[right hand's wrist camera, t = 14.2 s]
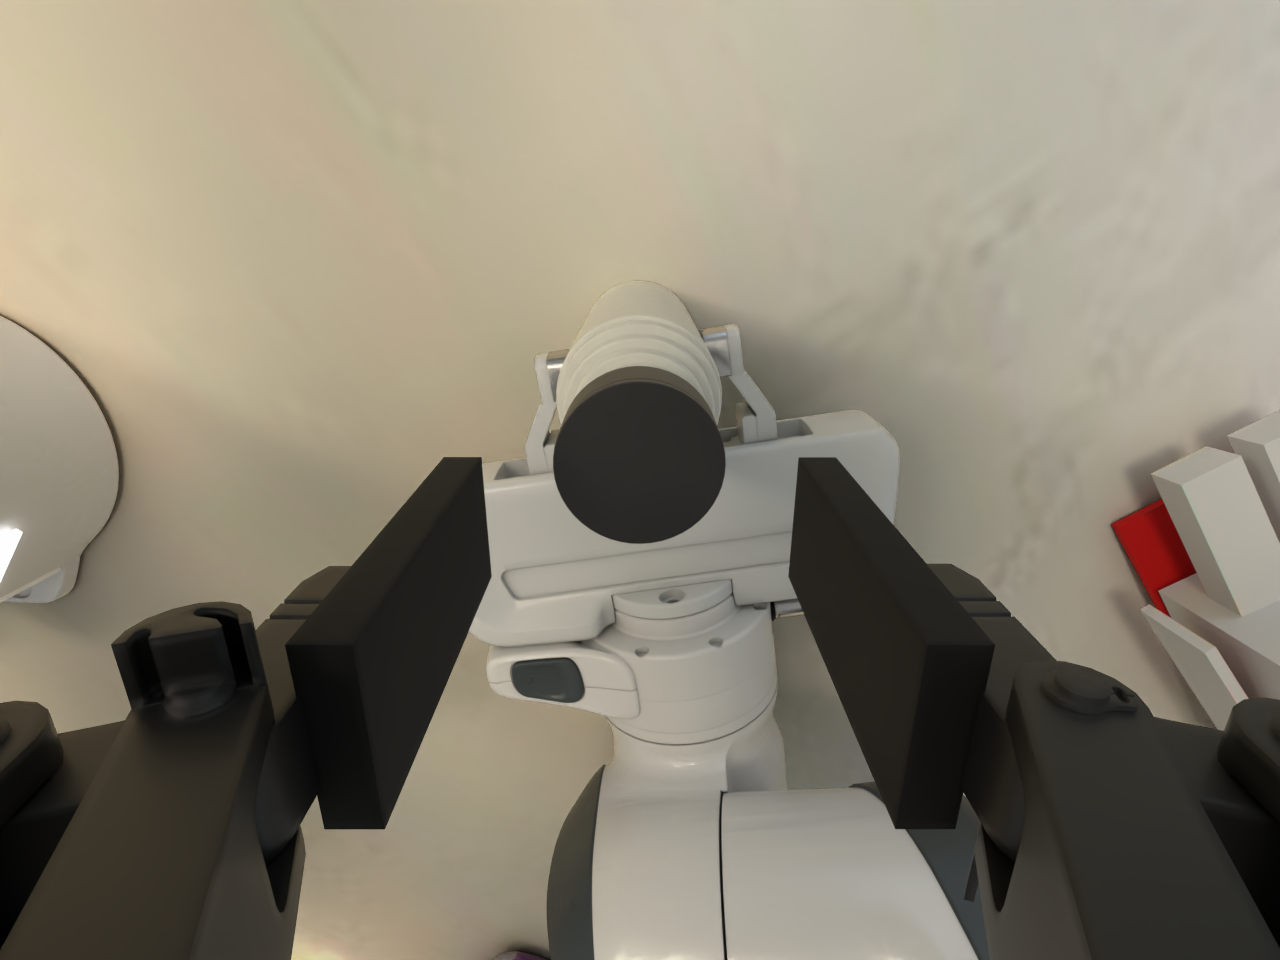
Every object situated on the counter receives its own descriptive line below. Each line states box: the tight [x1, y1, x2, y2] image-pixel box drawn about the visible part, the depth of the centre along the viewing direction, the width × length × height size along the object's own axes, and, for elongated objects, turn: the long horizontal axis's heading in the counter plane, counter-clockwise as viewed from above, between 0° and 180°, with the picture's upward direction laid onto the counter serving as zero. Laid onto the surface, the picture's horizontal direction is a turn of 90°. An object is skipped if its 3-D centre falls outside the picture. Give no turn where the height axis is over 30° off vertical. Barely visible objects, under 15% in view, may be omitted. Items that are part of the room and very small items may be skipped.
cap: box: [553, 366, 726, 544], centre depth 17 cm, size 4×4×2 cm
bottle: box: [556, 281, 722, 425], centre depth 25 cm, size 5×5×18 cm
